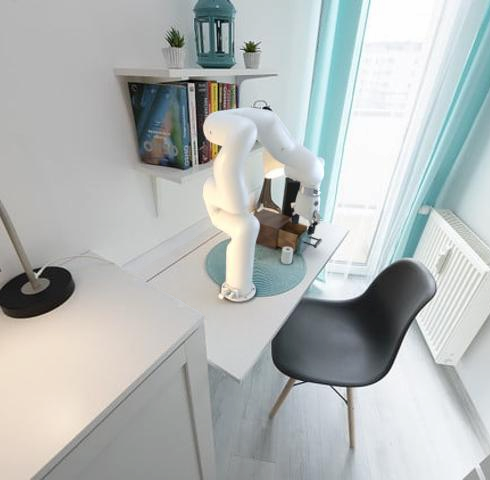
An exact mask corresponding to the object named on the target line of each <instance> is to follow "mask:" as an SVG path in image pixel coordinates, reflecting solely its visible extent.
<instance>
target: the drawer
mask: <svg viewBox="0 0 490 480" xmlns="http://www.w3.org/2000/svg"><path fill="white" fill-rule="evenodd" d="M307 232H308V224H303V223H300V222H299V223H298V224H295V225H292V221H288V222H287V223H286V224H285V225H284V226H282V227H281V228H280V229H279V230H278V237H277V245H276V246H278V248H283V247H291V248H293V253H295V252H296V256H300V255H301V254H302V253H303V252H304V251H305V249H306V248H307V247H308V246H311V247H313V249H317V248H318V246H320V244H321V243H322V241H323V239H322V238H316V237H314V236H313V234H311V235H308V234H307ZM312 240H315V241H316V242H315V243H311V242H312Z"/></svg>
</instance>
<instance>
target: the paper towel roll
mask: <svg viewBox="0 0 490 480" xmlns="http://www.w3.org/2000/svg"><path fill="white" fill-rule="evenodd" d="M293 256H294V252H293V248H291V247H283V248H282V249H281V256H280V263H282V264H284V265H290V264H291V263H292V262H293Z"/></svg>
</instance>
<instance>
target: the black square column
mask: <svg viewBox="0 0 490 480" xmlns="http://www.w3.org/2000/svg"><path fill="white" fill-rule="evenodd" d="M284 179H285V180H284V189H283V196H282V205H281V213H280V214H282V215H285V216H289V217H292V219H291V221H292V220H293V215H292V213H293V212H292V210H291V209H292V208H291V203H294V202H296V197H297V194H298V191H299V190H300V183H301V182H299V181H296V180H293V179H290V178H289V177H287V176H285V177H284Z"/></svg>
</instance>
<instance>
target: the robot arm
mask: <svg viewBox="0 0 490 480" xmlns="http://www.w3.org/2000/svg"><path fill="white" fill-rule="evenodd" d="M202 130H203V134H204V136H205V138H206V140H208V142H210V143H211V144H214V145H217V146H220V147H221V148H220V149H219V151H218V152H217V155H216V157H215V159H214V160H213V161H214V162H213V164H212V173H213V174H212V175H211V176H209V177H208V178H207V179H206V180H205V182H204V184H203V186H202V187H203V188H202V198H203V202H204V205H205V207H206V210H207V214H208V216H209V219H210V222H211V223H212V224H213V226H214V227H215V228H217V229H218V230H219V231H221V232H223V233H224V234H226V235H227V236H229V237H230V238H231V240H230V241H229V243H228V244H227V246H226V250H225V251H226V253H225V255H226V256H225V258H226V259H225V281H224V282H223V283H222V284H221V286H220V287H221V290H220V291H221V292H220V293H219V294H218V298H219V299H220V300H223V299H224V298H226V299H227V300H230V301H233V302H239V303H240V302H241V303H242V302H246V301H249V300H251V299H252V298H253V297H255V296H256V293H257V291H256V290H257V288H256V285H255V284H254V282H253V276H254V263H255V251H256V244H257V243H256V239H257V236H258V233H259V229H260V224H259V221H258V219H257V218H256V217H255V216H254V215H255V214H253V213H251V212H249V211H247V210H248V209H249V207H250V194H249V190H248V189H249V188H248V184H247V180H246V174H245V163H246V160H247V158H248V156H249V154H250V152H251V151H252V149H253V147H254V146H255V144H256V142H258V143H259V144H260V146H262V147H263V148H264V149H265V150H266V152H267V153H268V154H269V155H270V156H271V158H273V160H275V161H277V162H279V164H282V165H284V167H283V173H284V175H285V177H289V178H290V179H293V180H296V181H299V182H301V183H300V190H299V191H298V194H297V197H296V202H294V203H291V208H292V209H291V210H292V212H293V213H292V215H293V220H292V225H295V224H298V223H300V217H302V218H303V219H305V220H307V221H308V224H309V226H307V229H308V232H307V234H308V235H311V234H312V235H314V234H315V231H316V227H317V226H318V225H319V224H321V222H322V220H323V218H322V217H321V215H320V208H321V195H320V194H321V191H320V190H321V186H322V185H321V184H322V182H323V180H324V177H325V164H326V162H325V159H324V158H323V157H320V156H317V155H316V154H315V153H314V152H312V151H311V150H310V149H308V148H307V147H306V146H304V145H303V144H302V143H301V142H299V141H298V140H296V139H295V138H294V137H293V135H292V133H290V131H289V130H288V128H287V127H286V125H285V124H284V123H283V121H282V119H280V117H279V116H278V115H277V113H276V112H274V111H272V110H269V109H266V108H265V109H264V108H257V107H250V106H246V107H239V108H231V109H224V110H217V111H214V112H211V113H210V114H208V115H207V116H206V118H205V119H204V122H203V126H202Z"/></svg>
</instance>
